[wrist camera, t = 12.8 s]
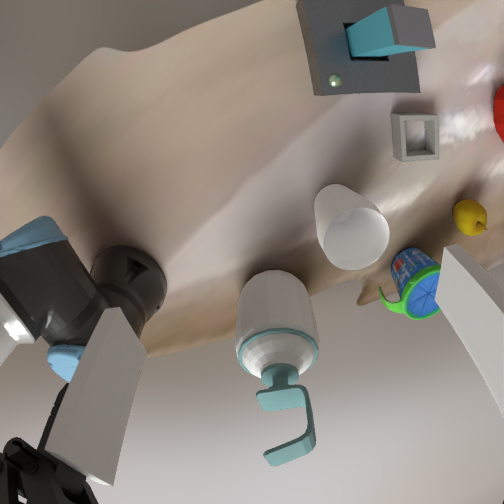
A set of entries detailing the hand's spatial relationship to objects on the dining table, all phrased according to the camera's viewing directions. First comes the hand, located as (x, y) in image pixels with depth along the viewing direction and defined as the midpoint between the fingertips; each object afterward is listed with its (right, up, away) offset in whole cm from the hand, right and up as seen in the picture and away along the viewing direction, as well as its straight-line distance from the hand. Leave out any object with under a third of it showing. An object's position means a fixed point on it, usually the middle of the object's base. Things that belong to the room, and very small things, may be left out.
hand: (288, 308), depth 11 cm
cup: (+11, +10, +34) cm, 37 cm away
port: (+13, +31, +21) cm, 39 cm away
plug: (+13, +30, +20) cm, 39 cm away
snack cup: (+28, 0, +40) cm, 48 cm away
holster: (+23, +20, +27) cm, 41 cm away
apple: (+37, +10, +33) cm, 51 cm away
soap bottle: (+2, -5, +43) cm, 43 cm away
